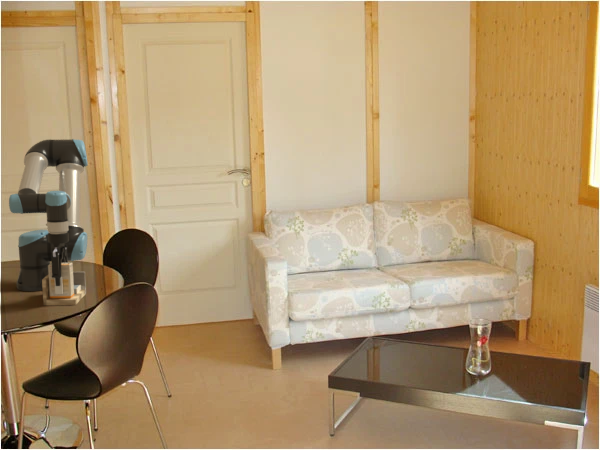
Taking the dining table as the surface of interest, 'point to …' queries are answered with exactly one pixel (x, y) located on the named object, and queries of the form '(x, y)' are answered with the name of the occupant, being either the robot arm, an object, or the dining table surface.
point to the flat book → (77, 288)
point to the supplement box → (66, 280)
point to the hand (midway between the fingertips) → (61, 291)
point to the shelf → (78, 280)
